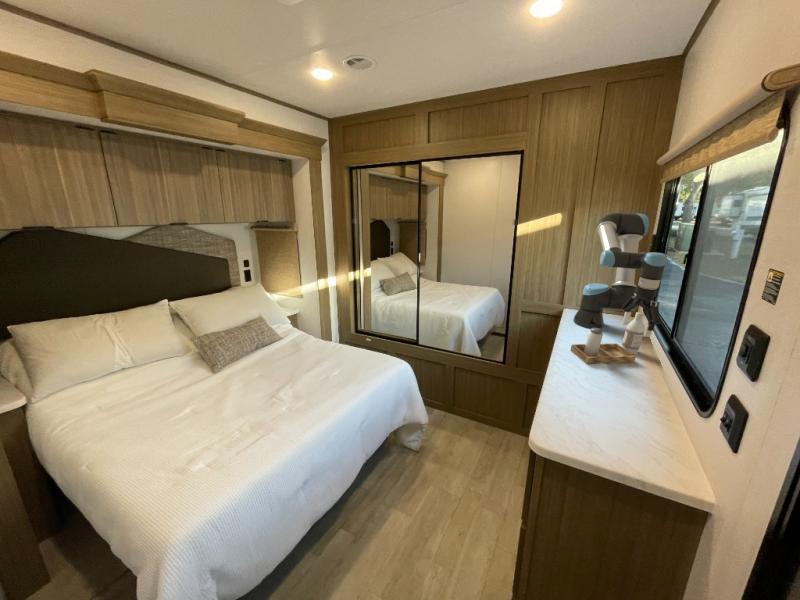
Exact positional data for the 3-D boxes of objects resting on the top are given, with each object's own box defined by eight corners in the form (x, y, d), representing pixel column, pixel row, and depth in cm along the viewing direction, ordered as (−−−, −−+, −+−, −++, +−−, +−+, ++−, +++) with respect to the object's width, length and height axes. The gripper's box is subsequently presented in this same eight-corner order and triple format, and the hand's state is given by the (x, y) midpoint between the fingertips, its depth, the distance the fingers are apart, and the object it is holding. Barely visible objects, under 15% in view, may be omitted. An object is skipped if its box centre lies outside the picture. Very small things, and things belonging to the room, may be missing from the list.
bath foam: (619, 346, 163) (630, 309, 156) (636, 349, 160) (647, 311, 153) (621, 352, 157) (632, 314, 150) (638, 355, 154) (650, 317, 147)
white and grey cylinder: (587, 351, 156) (593, 326, 151) (599, 356, 151) (606, 330, 147) (581, 354, 153) (587, 328, 148) (593, 359, 148) (599, 333, 144)
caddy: (614, 349, 160) (616, 343, 158) (634, 362, 148) (635, 356, 147) (570, 350, 158) (571, 344, 157) (586, 364, 146) (587, 357, 145)
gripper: (620, 279, 158) (609, 319, 165) (662, 296, 135) (648, 342, 142) (634, 279, 159) (623, 319, 166) (679, 296, 135) (664, 341, 142)
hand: (635, 330), depth 154 cm, fingers open, 13 cm apart
